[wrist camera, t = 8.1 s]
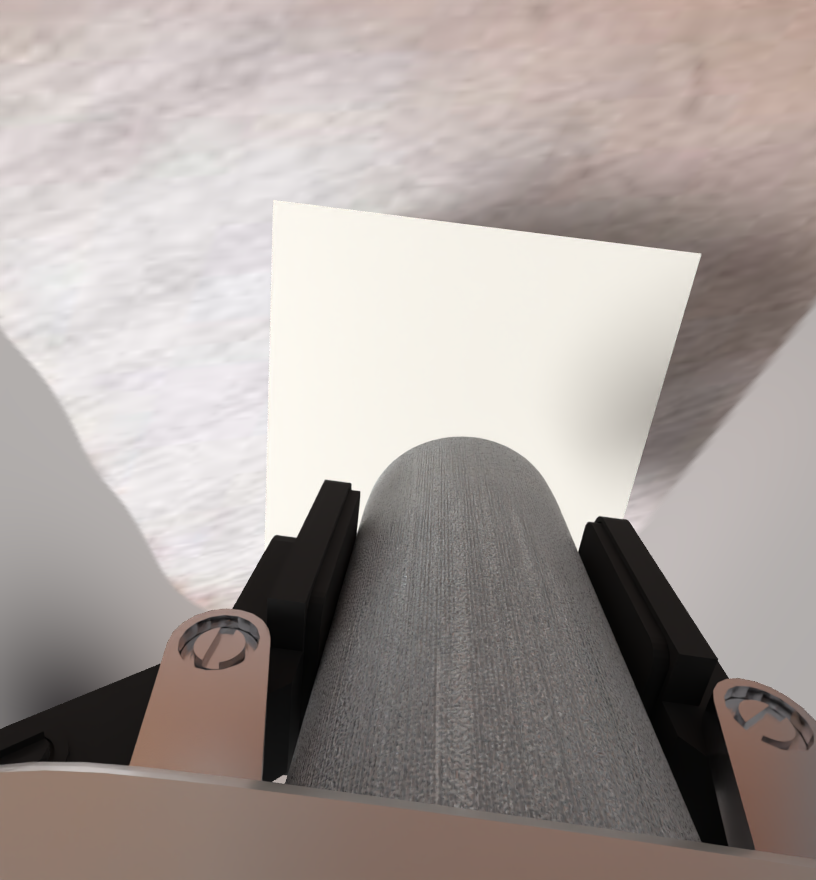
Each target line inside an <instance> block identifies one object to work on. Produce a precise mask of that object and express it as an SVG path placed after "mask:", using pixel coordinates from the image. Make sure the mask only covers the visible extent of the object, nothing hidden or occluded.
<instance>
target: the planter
mask: <svg viewBox="0 0 816 880" xmlns="http://www.w3.org/2000/svg"><path fill="white" fill-rule="evenodd" d="M285 784H289V785H296V786H303V787H311V788H318V789H325V790H333V791H340V792H347V793H355V794H362V795H370V796H377V797H384V798H392V799H399V800H406V801H414V802H421V803H428V804H436V805H443V806H450V807H457V808H464V809H471V810H478V811H485V812H493V813H500V814H507V815H514V816H521V817H528V818H535V819H542V820H549V821H556V822H563V823H570V824H577V825H584V826H591V827H598V828H605V829H612V830H619V831H626V832H633V833H640V834H647V835H654V836H661V837H668V838H674V839H681V840H688V841H695V842H701V840H700V838H699V835H698V833H697V831H696V828H695V826H694V824H693V821H692V819H691V816H690V814H689V812H688V809H687V807H686V805H685V802H684V800H683V798H682V795H681V793H680V791H679V788H678V786H677V784H676V781H675V779H674V776H673V774H672V772H671V769H670V767H669V765H668V762H667V760H666V758H665V755H664V753H663V751H662V748H661V746H660V743H659V741H658V739H657V736H656V734H655V732H654V729H653V727H652V725H651V722H650V720H649V718H648V715H647V713H646V710H645V708H644V706H643V703H642V701H641V699H640V696H639V694H638V692H637V689H636V687H635V685H634V682H633V680H632V678H631V675H630V673H629V670H628V668H627V666H626V663H625V661H624V659H623V656H622V654H621V652H620V649H619V647H618V645H617V642H616V640H615V637H614V635H613V633H612V630H611V628H610V626H609V623H608V621H607V619H606V616H605V614H604V612H603V609H602V607H601V605H600V602H599V600H598V597H597V595H596V593H595V590H594V588H593V586H592V583H591V581H590V579H589V576H588V574H587V572H586V569H585V567H584V564H583V562H582V560H581V557H580V555H579V553H578V550H577V548H576V546H575V543H574V541H573V539H572V536H571V534H570V531H569V529H568V527H567V524H566V522H565V520H564V517H563V515H562V513H561V510H560V508H559V506H558V503H557V501H556V499H555V497H554V495H553V493H552V491H551V489H550V488H549V486H548V484H547V483H546V481H545V479H544V478H543V476H542V475H541V474H540V472H539V471H538V470H537V469H536V468H535V467H534V466H533V465H532V464H531V463H530V462H529V461H528V460H527V459H526V458H524V457H523V456H522V455H520V454H519V453H517V452H516V451H514V450H512V449H511V448H509V447H506V446H504V445H502V444H499V443H497V442H494V441H490V440H486V439H482V438H476V437H465V436H461V437H446V438H440V439H436V440H432V441H429V442H425V443H423V444H420V445H418V446H416V447H414V448H412V449H410V450H408V451H406V452H405V453H403V454H402V455H400V456H399V457H398V458H397V459H395V460H394V461H393V462H392V463H391V464H390V465H389V466H388V467H387V468H386V469H385V470H384V471H383V473H382V474H381V475H380V477H379V478H378V480H377V481H376V483H375V485H374V487H373V488H372V491H371V493H370V496H369V498H368V500H367V503H366V505H365V508H364V512H363V515H362V518H361V522H360V525H359V529H358V532H357V536H356V539H355V543H354V546H353V550H352V553H351V557H350V560H349V564H348V567H347V571H346V574H345V578H344V581H343V585H342V588H341V592H340V595H339V598H338V602H337V605H336V609H335V612H334V616H333V619H332V623H331V626H330V630H329V633H328V637H327V640H326V644H325V647H324V651H323V654H322V658H321V661H320V665H319V668H318V671H317V675H316V678H315V682H314V685H313V689H312V692H311V696H310V699H309V702H308V706H307V709H306V713H305V716H304V720H303V723H302V727H301V730H300V734H299V737H298V741H297V744H296V748H295V751H294V755H293V758H292V761H291V765H290V768H289V772H288V775H287V779H286V782H285ZM701 843H702V842H701Z"/></svg>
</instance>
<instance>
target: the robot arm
mask: <svg viewBox="0 0 816 880" xmlns="http://www.w3.org/2000/svg"><path fill="white" fill-rule="evenodd" d="M359 506H360V491H356V490H352V484H351V483H348V482H340V481H333V480H324V482H323V484H322V486H321V488H320V490H319V493H318V495H317V497H316V499H315V501H314V503H313V505H312V507H311V509H310V511H309V513H308V515H307V517H306V519H305V521H304V523H303V526H302V528H301V530H300V532H299V534H298V536H297V538H296V537H288V536H281V535H275V536H274V537H273V538H272V539H271V541H270V543H269V545H268V547H267V548H266V550H265V552H264V554H263V555H262V557H261V559H260V561H259V563H258V564H257V566H256V568H255V570H254V571H253V573H252V575H251V577H250V579H249V580H248V582H247V584H246V586H245V587H244V589H243V591H242V593H241V594H240V596H239V598H238V600H237V602H236V603H235V605H234V607H233V609H219V610H211V611H208V612H205V613H202V614H198V615H196V616H194V617H192V618H190V619H188V620H187V621H185V622H183V623H182V624H181V625H180V626H179V627H178V628H177V629H176V630H175V631H174V632H173V633H172V635H171V637H170V639H169V640H168V642H167V645H166V648H165V651H164V655H163V658H162V661H161V664H158V665H156V666H153V667H151V668H149V669H146V670H144V671H141V672H139V673H136V674H134V675H131V676H129V677H126V678H124V679H122V680H119V681H117V682H114V683H112V684H109V685H107V686H104V687H102V688H99V689H97V690H95V691H92V692H90V693H87V694H85V695H82V696H80V697H77V698H75V699H72V700H70V701H68V702H65V703H63V704H60V705H58V706H55V707H53V708H50V709H48V710H45V711H43V712H40V713H38V714H36V715H33V716H31V717H28V718H26V719H23V720H21V721H18V722H16V723H13V724H11V725H9V726H6V727H4V728H2V729H0V880H816V721H815V720H814V719H813V718H812V717H811V716H810V715H809V714H808V713H807V712H806V711H805V710H804V709H803V708H802V707H801V706H800V705H798V704H797V703H795V702H794V701H793V700H791V699H790V698H788V697H787V696H785V695H784V694H782V693H780V692H778V691H776V690H774V689H772V688H771V687H768V686H765V685H763V684H760V683H758V682H755V681H750V680H745V679H740V678H736V679H729V678H728V676H727V675H726V673H725V672H724V670H723V669H722V667H721V665H720V664H719V662H718V658H717V657H716V655H715V654H714V653H713V651H712V649H711V648H710V646H709V645H708V643H707V641H706V640H705V638H704V637H703V635H702V634H701V632H700V631H699V629H698V628H697V626H696V624H695V623H694V621H693V620H692V618H691V617H690V615H689V614H688V612H687V611H686V609H685V607H684V606H683V604H682V603H681V601H680V600H679V598H678V597H677V595H676V593H675V592H674V590H673V589H672V587H671V586H670V584H669V583H668V581H667V580H666V578H665V576H664V575H663V573H662V572H661V570H660V569H659V567H658V566H657V564H656V562H655V561H654V559H653V558H652V556H651V555H650V553H649V552H648V550H647V549H646V547H645V545H644V544H643V542H642V541H641V539H640V538H639V536H638V535H637V533H636V531H635V530H634V528H633V527H632V525H631V524H630V522H629V521H628V520H625V519H618V518H610V517H603V516H598V517H597V518H596V520H595V522H587V524H586V525H585V528H584V532H583V536H582V539H581V543H580V547H579V550H578V553H579V555H580V557H581V560H582V562H583V564H584V567H585V569H586V572H587V574H588V576H589V579H590V581H591V583H592V586H593V588H594V590H595V593H596V595H597V597H598V600H599V602H600V605H601V607H602V609H603V612H604V614H605V616H606V619H607V621H608V623H609V626H610V628H611V630H612V633H613V635H614V637H615V640H616V642H617V645H618V647H619V649H620V652H621V654H622V656H623V659H624V661H625V663H626V666H627V668H628V670H629V673H630V675H631V678H632V680H633V682H634V685H635V687H636V689H637V692H638V694H639V696H640V699H641V701H642V703H643V706H644V708H645V710H646V713H647V715H648V718H649V720H650V722H651V725H652V727H653V729H654V732H655V734H656V736H657V739H658V741H659V743H660V746H661V748H662V751H663V753H664V755H665V758H666V760H667V762H668V765H669V767H670V769H671V772H672V774H673V776H674V779H675V781H676V784H677V786H678V788H679V791H680V793H681V795H682V798H683V800H684V802H685V805H686V807H687V809H688V812H689V814H690V816H691V819H692V821H693V824H694V826H695V828H696V831H697V833H698V835H699V838H700V840H701V842H702V843H701V842H695V841H688V840H681V839H674V838H668V837H661V836H654V835H647V834H640V833H633V832H626V831H619V830H612V829H605V828H598V827H591V826H584V825H577V824H570V823H563V822H556V821H549V820H542V819H535V818H528V817H521V816H514V815H507V814H500V813H493V812H485V811H478V810H471V809H464V808H457V807H450V806H443V805H436V804H428V803H421V802H414V801H406V800H399V799H392V798H384V797H377V796H370V795H362V794H355V793H347V792H340V791H333V790H325V789H318V788H311V787H303V786H296V785H289V784H281V783H273V782H272V781H274V780H276V779H277V778H279V777H280V776H282V775H288V772H289V768H290V765H291V761H292V758H293V755H294V751H295V748H296V744H297V741H298V737H299V734H300V730H301V727H302V723H303V720H304V716H305V713H306V709H307V706H308V702H309V699H310V696H311V692H312V689H313V685H314V682H315V678H316V675H317V671H318V668H319V665H320V661H321V658H322V654H323V651H324V647H325V644H326V640H327V637H328V633H329V630H330V626H331V623H332V619H333V616H334V612H335V609H336V605H337V602H338V598H339V595H340V592H341V588H342V585H343V581H344V578H345V574H346V571H347V567H348V564H349V560H350V557H351V553H352V550H353V546H354V543H355V539H356V536H357V527H358V516H359Z"/></svg>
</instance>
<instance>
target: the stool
mask: <svg viewBox="0 0 816 880" xmlns="http://www.w3.org/2000/svg"><path fill="white" fill-rule="evenodd" d="M700 257H701V254H699V253H691V252H683V251H675V250H667V249H659V248H651V247H643V246H635V245H627V244H619V243H611V242H603V241H596V240H588V239H580V238H572V237H564V236H556V235H548V234H540V233H532V232H524V231H516V230H508V229H500V228H492V227H484V226H476V225H468V224H460V223H452V222H444V221H436V220H428V219H420V218H412V217H404V216H396V215H388V214H380V213H372V212H364V211H356V210H348V209H340V208H332V207H324V206H317V205H309V204H301V203H293V202H285V201H277V200H273V231H272V271H271V311H270V351H269V390H268V430H267V470H266V510H265V550H266V548H267V547H268V545H269V543H270V541H271V539H272V538H273V537H274V536H275V535H281V536H288V537H296V538H297V536H298V534H299V532H300V530H301V528H302V526H303V523H304V521H305V519H306V517H307V515H308V513H309V511H310V509H311V507H312V505H313V503H314V501H315V499H316V497H317V495H318V493H319V490H320V488H321V486H322V484H323V482H324V480H333V481H340V482H348V483H351V484H352V490H356V491H360V506H359V516H358V527H357V532H358V529H359V525H360V522H361V518H362V515H363V512H364V508H365V505H366V503H367V500H368V498H369V496H370V493H371V491H372V488H373V487H374V485H375V483H376V481H377V480H378V478H379V477H380V475H381V474H382V473H383V471H384V470H385V469H386V468H387V467H388V466H389V465H390V464H391V463H392V462H393V461H394V460H395V459H397V458H398V457H399V456H400V455H402V454H403V453H405V452H406V451H408V450H410V449H412V448H414V447H416V446H418V445H420V444H423V443H425V442H429V441H432V440H436V439H440V438H446V437H461V436H465V437H476V438H482V439H486V440H490V441H494V442H497V443H499V444H502V445H504V446H506V447H509V448H511V449H512V450H514V451H516V452H517V453H519V454H520V455H522V456H523V457H524V458H526V459H527V460H528V461H529V462H530V463H531V464H532V465H533V466H534V467H535V468H536V469H537V470H538V471H539V472H540V474H541V475H542V476H543V478H544V479H545V481H546V483H547V484H548V486H549V488H550V489H551V491H552V493H553V495H554V497H555V499H556V501H557V503H558V506H559V508H560V510H561V513H562V515H563V517H564V520H565V522H566V524H567V527H568V529H569V531H570V534H571V536H572V539H573V541H574V543H575V546H576V548H577V550H579V547H580V543H581V539H582V536H583V532H584V528H585V525H586V524H587V522H595V520H596V518H597V517H598V516H603V517H610V518H618V519H623V517H624V514H625V510H626V507H627V504H628V500H629V497H630V494H631V490H632V487H633V483H634V480H635V477H636V473H637V470H638V467H639V463H640V460H641V456H642V453H643V450H644V446H645V443H646V440H647V436H648V433H649V429H650V426H651V423H652V419H653V416H654V413H655V409H656V406H657V402H658V399H659V396H660V392H661V389H662V386H663V382H664V379H665V375H666V372H667V369H668V365H669V362H670V359H671V355H672V352H673V348H674V345H675V342H676V338H677V335H678V331H679V328H680V325H681V321H682V318H683V315H684V311H685V308H686V304H687V301H688V298H689V294H690V291H691V288H692V284H693V281H694V277H695V274H696V271H697V267H698V264H699V261H700ZM265 550H264V552H265Z"/></svg>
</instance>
